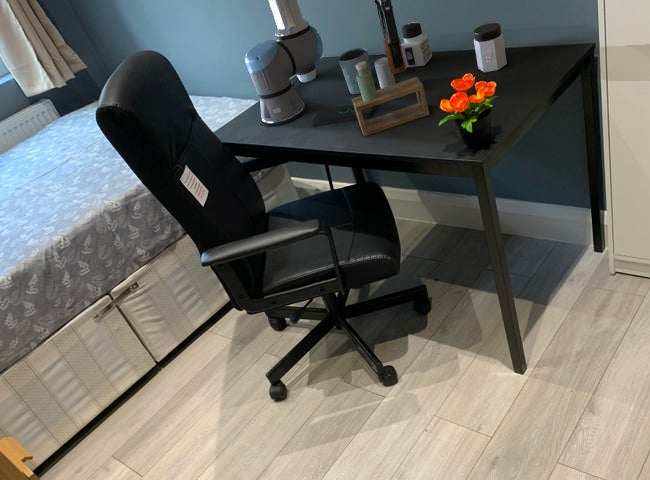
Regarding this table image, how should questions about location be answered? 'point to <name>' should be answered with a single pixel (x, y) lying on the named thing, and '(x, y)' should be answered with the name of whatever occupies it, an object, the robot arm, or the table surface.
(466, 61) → the table surface
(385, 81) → the beverage can
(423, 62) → the container
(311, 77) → the coffee cup
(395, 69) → the amber bottle
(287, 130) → the table surface
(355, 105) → the wooden frame
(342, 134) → the table surface
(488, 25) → the jar
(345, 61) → the blue-grey plant pot
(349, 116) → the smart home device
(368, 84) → the sage bottle
